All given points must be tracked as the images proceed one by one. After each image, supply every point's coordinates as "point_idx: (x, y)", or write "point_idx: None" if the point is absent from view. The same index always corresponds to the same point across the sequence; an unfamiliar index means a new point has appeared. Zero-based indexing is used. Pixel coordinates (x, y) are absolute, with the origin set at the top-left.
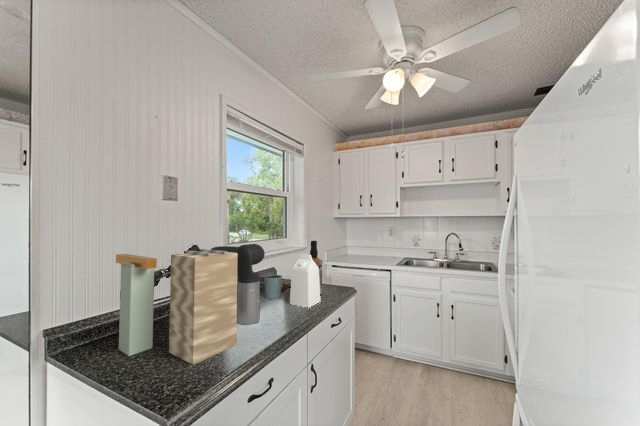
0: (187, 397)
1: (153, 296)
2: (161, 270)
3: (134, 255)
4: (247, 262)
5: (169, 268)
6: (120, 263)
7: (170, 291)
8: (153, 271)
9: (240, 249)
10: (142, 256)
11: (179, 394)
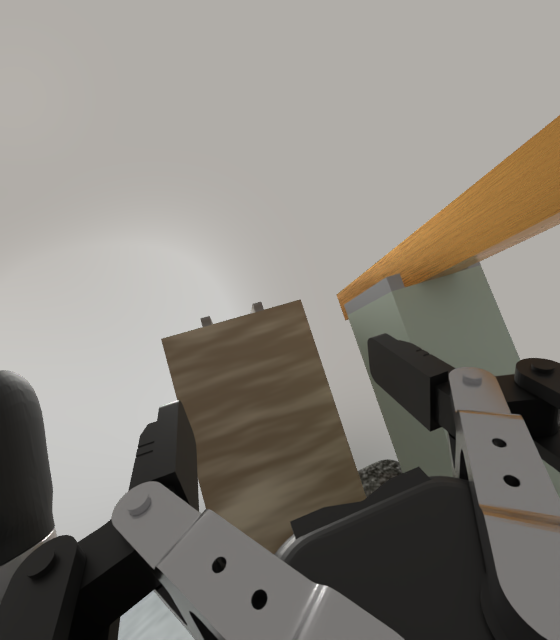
0: (367, 473)
1: (389, 431)
2: (238, 568)
3: (420, 230)
4: (44, 434)
5: (186, 470)
6: (544, 229)
7: (333, 400)
8: (357, 336)
9: (18, 384)
10: (377, 263)
11: (375, 477)
